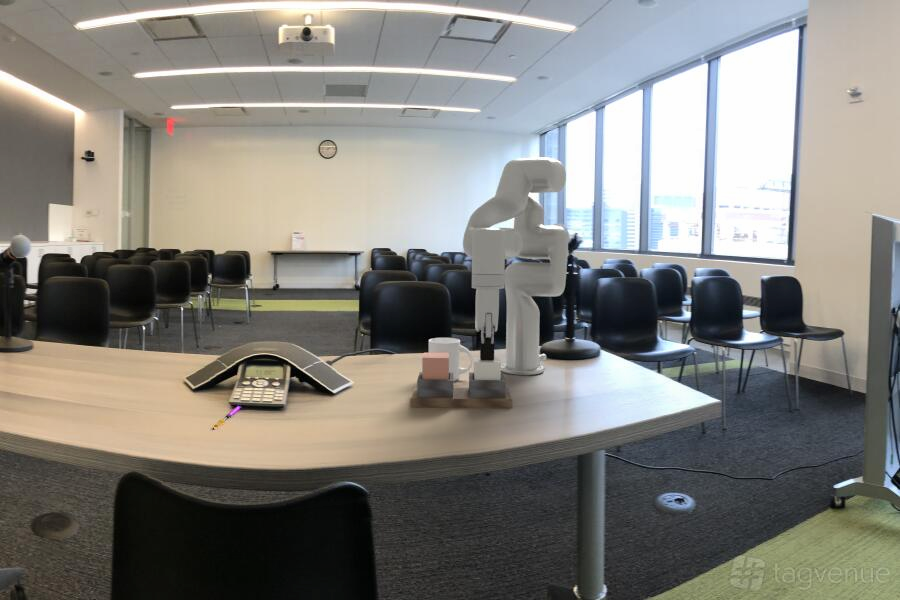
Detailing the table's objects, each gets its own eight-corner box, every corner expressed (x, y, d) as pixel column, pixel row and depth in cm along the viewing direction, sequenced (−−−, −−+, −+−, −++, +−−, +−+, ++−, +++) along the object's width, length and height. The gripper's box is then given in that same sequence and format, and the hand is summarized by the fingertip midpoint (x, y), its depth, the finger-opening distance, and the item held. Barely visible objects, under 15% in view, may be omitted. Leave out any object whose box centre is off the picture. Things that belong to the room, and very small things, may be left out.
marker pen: (239, 406, 130) (210, 431, 114) (240, 401, 130) (211, 425, 114) (250, 409, 130) (223, 434, 114) (251, 404, 130) (224, 428, 114)
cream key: (498, 381, 137) (499, 357, 136) (500, 388, 131) (500, 362, 130) (473, 381, 137) (474, 357, 136) (474, 388, 131) (474, 362, 130)
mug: (470, 383, 151) (470, 343, 150) (425, 381, 153) (425, 342, 152) (473, 376, 160) (474, 338, 159) (431, 374, 161) (431, 337, 160)
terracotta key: (448, 377, 137) (448, 352, 136) (448, 383, 131) (448, 358, 130) (423, 377, 137) (423, 352, 136) (422, 383, 131) (422, 357, 131)
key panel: (508, 395, 139) (508, 371, 139) (511, 407, 129) (512, 382, 129) (414, 395, 140) (414, 371, 139) (410, 406, 130) (410, 381, 129)
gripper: (471, 279, 139) (470, 353, 141) (472, 284, 124) (471, 366, 126) (501, 279, 139) (500, 353, 141) (507, 284, 124) (505, 367, 126)
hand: (487, 359), depth 133 cm, fingers closed
